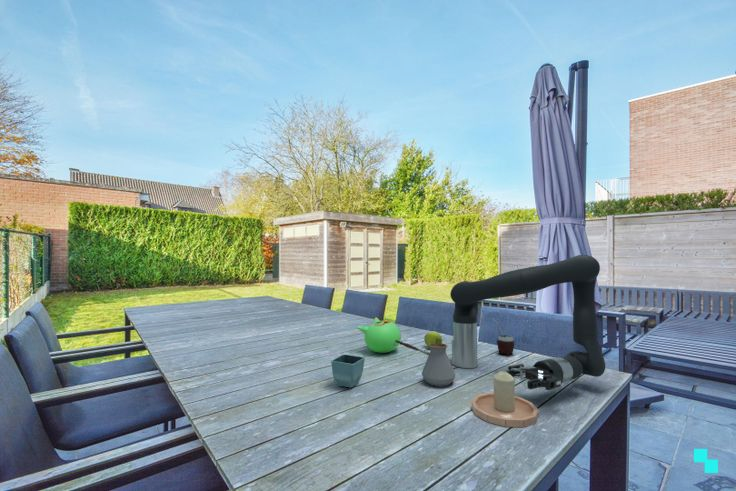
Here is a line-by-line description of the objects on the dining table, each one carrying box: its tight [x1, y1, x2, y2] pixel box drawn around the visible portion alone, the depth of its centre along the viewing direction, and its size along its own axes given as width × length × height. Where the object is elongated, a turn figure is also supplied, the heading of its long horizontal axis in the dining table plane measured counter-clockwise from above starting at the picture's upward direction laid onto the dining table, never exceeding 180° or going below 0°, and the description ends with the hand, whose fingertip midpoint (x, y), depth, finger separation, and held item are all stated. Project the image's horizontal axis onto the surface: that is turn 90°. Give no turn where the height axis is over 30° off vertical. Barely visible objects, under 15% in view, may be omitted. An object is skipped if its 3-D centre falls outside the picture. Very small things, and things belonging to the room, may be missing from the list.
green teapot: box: [356, 317, 402, 354], centre depth 157 cm, size 18×17×15 cm
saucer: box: [470, 392, 539, 428], centre depth 97 cm, size 17×17×2 cm
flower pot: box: [330, 353, 365, 388], centre depth 118 cm, size 9×9×9 cm
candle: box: [493, 370, 516, 412], centre depth 97 cm, size 6×6×10 cm
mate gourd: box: [492, 318, 515, 358], centre depth 151 cm, size 8×8×15 cm
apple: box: [423, 330, 443, 348], centre depth 161 cm, size 8×9×8 cm
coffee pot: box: [394, 340, 456, 387], centre depth 119 cm, size 21×12×15 cm, turn 92°
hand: (515, 380), depth 99 cm, fingers open, 8 cm apart
